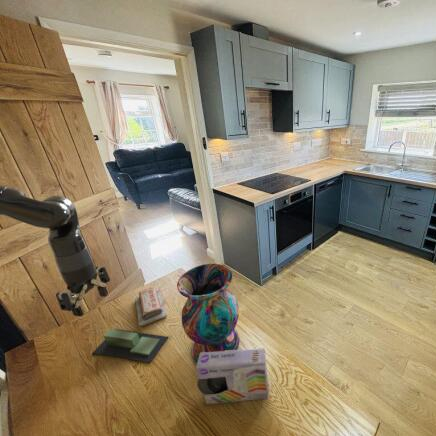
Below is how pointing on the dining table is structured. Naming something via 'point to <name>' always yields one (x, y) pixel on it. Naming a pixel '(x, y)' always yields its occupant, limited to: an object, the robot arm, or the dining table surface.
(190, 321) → the vase
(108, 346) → the mat
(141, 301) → the packaged product
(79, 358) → the dining table surface
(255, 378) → the cake pan box
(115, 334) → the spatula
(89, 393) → the dining table surface
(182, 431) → the dining table surface
